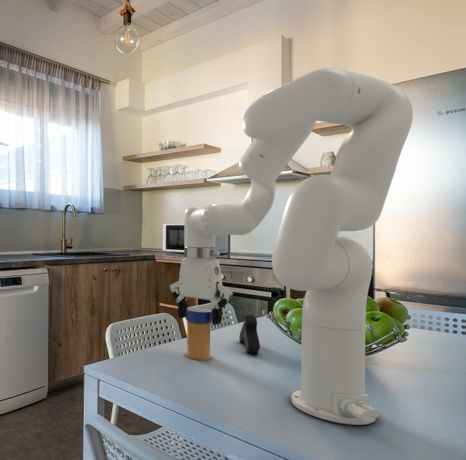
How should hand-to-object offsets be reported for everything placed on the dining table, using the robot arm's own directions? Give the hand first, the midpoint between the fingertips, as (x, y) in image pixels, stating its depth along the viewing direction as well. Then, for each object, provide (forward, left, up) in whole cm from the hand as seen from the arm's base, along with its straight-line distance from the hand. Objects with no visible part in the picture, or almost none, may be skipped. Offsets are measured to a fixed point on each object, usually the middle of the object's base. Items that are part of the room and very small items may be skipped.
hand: (199, 320), depth 104 cm
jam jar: (0, 0, -9) cm, 9 cm away
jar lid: (0, 0, 0) cm, 0 cm away
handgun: (+7, -17, -10) cm, 21 cm away
